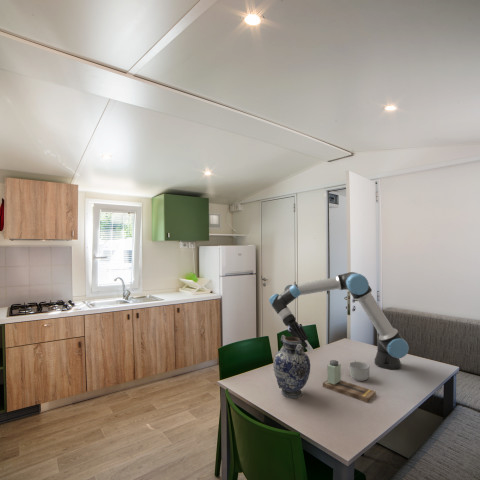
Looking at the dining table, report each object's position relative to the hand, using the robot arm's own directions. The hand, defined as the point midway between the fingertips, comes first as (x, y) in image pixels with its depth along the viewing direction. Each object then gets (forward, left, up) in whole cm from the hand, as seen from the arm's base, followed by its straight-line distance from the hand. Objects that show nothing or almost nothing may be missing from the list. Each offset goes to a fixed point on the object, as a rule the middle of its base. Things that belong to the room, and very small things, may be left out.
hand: (311, 351), depth 178 cm
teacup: (-26, +7, -16) cm, 31 cm away
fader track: (-10, +19, -15) cm, 27 cm away
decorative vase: (+19, +12, -16) cm, 27 cm away
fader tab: (-7, +12, -13) cm, 19 cm away
